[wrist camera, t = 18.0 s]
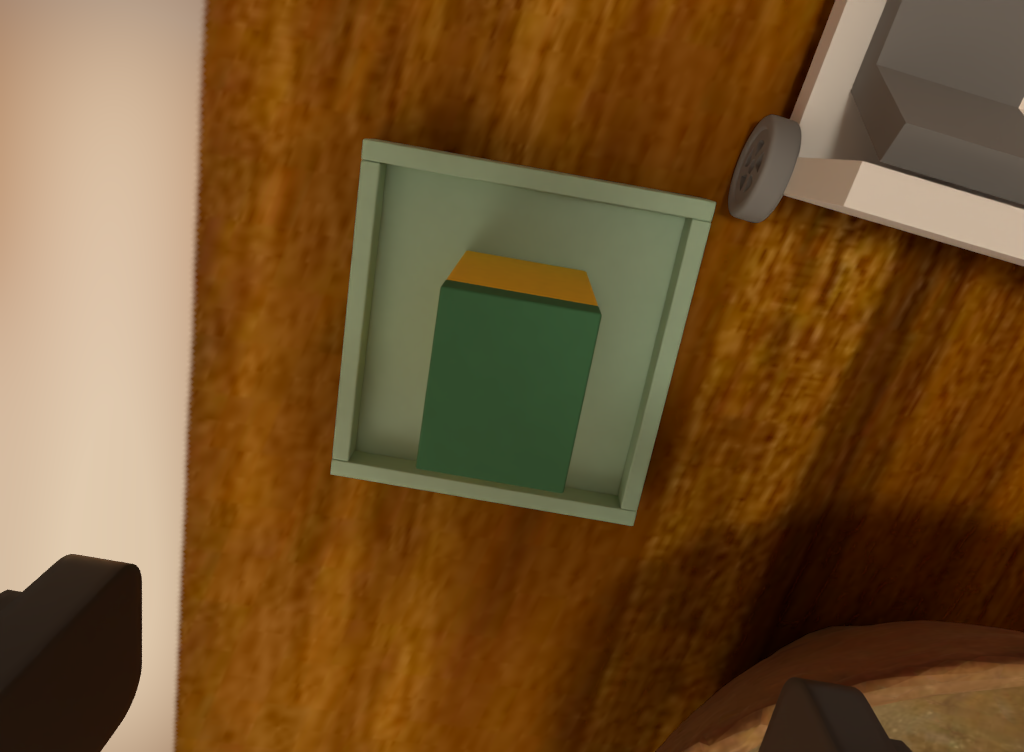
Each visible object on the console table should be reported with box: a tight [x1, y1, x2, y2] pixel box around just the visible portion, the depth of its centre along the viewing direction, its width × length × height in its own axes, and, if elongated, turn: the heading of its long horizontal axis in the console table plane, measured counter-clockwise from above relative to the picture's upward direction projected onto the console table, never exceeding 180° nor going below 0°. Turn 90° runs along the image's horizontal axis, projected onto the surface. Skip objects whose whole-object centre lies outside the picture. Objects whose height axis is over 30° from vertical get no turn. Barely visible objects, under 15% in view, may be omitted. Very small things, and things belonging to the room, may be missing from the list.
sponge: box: [416, 251, 602, 493], centre depth 21 cm, size 5×4×6 cm
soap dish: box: [330, 139, 716, 526], centre depth 23 cm, size 11×11×2 cm
